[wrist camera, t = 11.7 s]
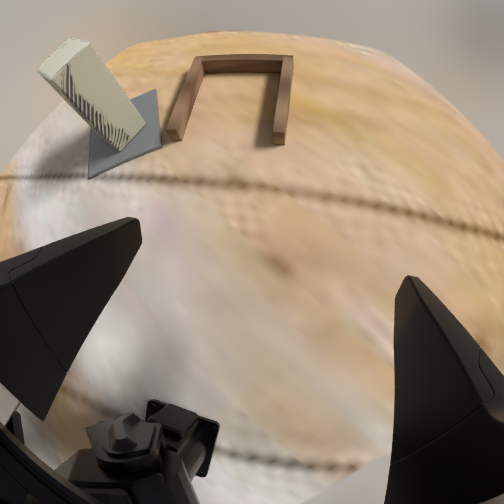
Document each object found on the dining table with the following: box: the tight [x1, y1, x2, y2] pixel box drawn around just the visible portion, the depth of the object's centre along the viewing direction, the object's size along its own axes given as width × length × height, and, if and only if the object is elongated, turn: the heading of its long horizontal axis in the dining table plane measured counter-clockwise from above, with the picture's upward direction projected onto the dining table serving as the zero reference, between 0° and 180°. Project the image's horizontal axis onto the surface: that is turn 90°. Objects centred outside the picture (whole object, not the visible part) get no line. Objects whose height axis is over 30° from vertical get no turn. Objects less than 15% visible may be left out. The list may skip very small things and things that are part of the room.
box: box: [37, 38, 146, 151], centre depth 20 cm, size 5×4×13 cm
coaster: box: [89, 89, 162, 178], centre depth 27 cm, size 9×9×1 cm
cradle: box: [166, 54, 293, 145], centre depth 25 cm, size 11×11×2 cm
